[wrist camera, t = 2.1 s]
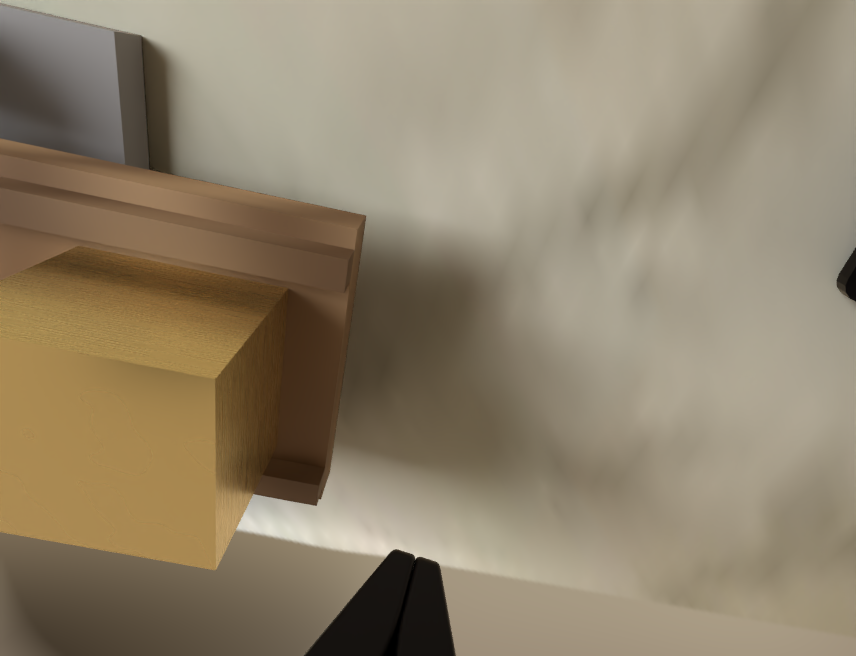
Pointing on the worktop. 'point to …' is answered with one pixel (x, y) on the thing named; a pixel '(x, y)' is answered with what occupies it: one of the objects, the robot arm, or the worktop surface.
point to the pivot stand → (72, 87)
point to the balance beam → (207, 270)
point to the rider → (136, 403)
